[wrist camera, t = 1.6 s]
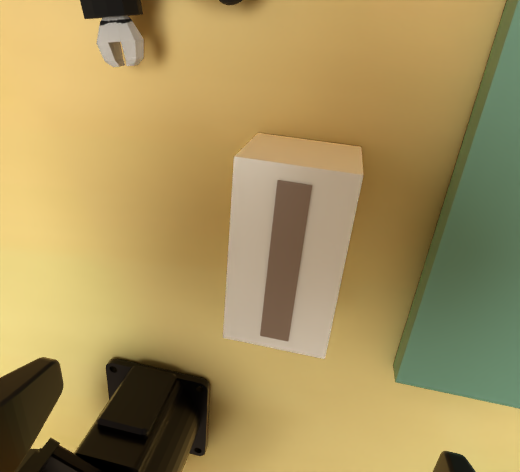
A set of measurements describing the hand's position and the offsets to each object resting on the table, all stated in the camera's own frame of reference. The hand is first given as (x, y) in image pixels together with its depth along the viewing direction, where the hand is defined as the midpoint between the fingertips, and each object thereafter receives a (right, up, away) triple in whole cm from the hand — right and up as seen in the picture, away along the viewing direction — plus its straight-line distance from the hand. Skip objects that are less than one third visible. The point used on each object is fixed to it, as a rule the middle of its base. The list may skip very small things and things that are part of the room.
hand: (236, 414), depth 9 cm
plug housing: (+2, +5, +10) cm, 11 cm away
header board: (+15, +5, +7) cm, 17 cm away
